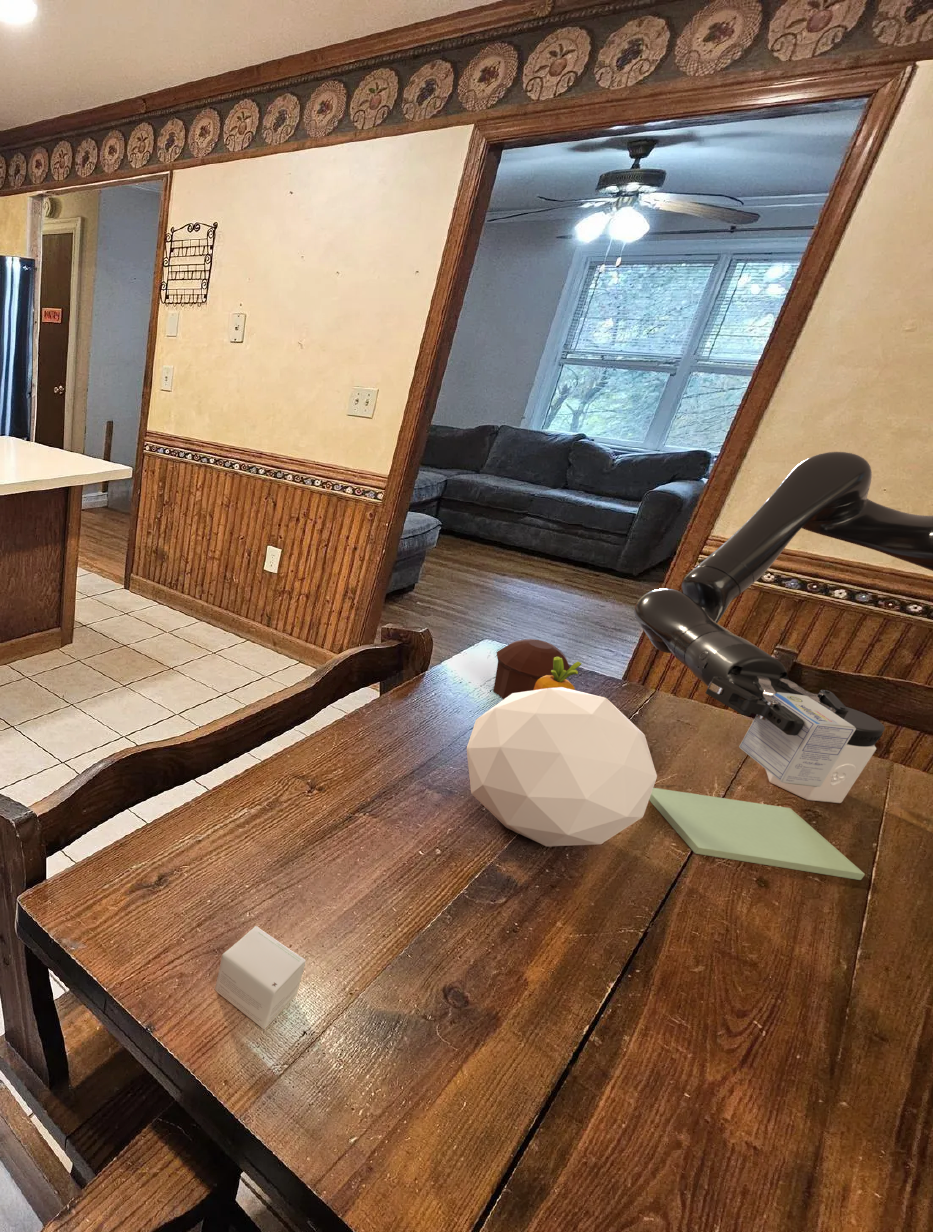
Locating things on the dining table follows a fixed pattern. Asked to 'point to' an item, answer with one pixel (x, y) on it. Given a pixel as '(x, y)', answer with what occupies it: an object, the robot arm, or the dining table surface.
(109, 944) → the dining table surface
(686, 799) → the mat
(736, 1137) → the dining table surface
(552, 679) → the carrot
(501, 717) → the ball
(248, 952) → the small box
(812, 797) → the jar
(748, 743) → the medicine box
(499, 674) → the muffin
